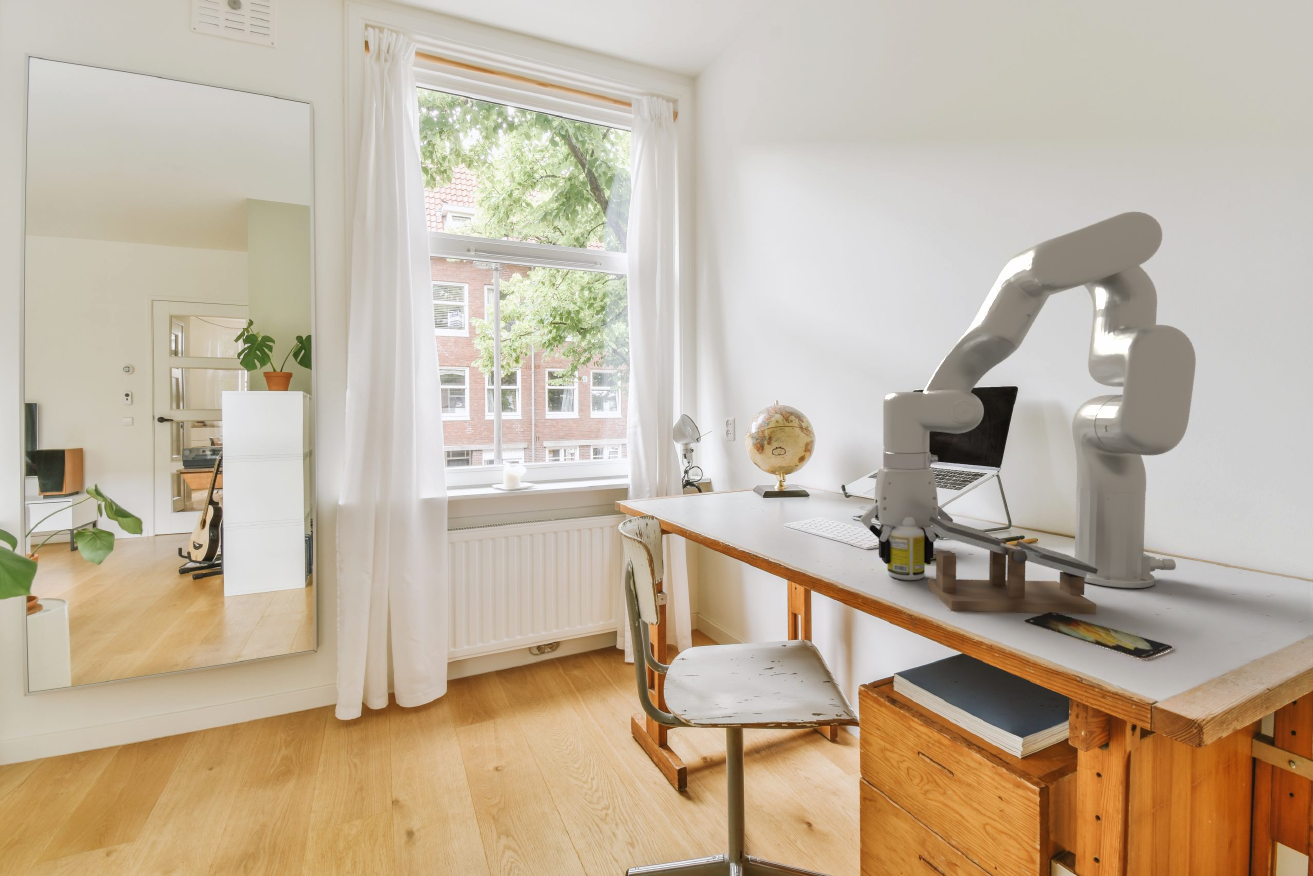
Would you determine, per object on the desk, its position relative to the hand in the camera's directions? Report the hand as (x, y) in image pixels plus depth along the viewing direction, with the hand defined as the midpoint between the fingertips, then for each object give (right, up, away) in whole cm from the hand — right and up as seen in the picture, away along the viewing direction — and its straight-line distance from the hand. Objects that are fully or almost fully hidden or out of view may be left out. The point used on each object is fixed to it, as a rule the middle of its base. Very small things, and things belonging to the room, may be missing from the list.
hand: (905, 561), depth 108 cm
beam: (+10, +5, -14) cm, 18 cm away
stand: (+10, -3, -13) cm, 17 cm away
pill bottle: (0, -3, 0) cm, 3 cm away
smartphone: (+14, -5, -27) cm, 31 cm away
